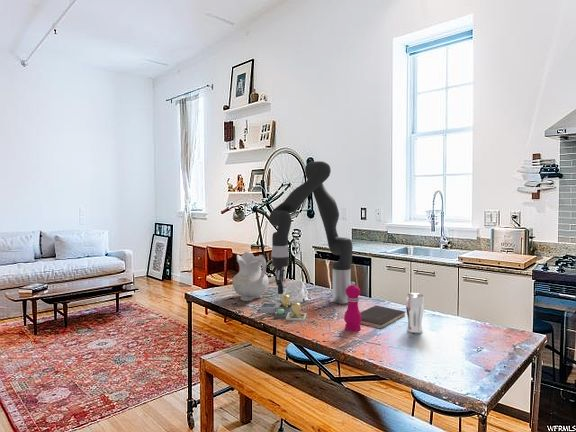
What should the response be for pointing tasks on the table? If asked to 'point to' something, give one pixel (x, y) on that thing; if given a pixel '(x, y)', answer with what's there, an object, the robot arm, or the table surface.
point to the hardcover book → (380, 316)
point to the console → (280, 315)
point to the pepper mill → (352, 308)
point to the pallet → (273, 308)
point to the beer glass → (415, 312)
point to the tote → (296, 318)
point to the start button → (280, 311)
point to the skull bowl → (297, 291)
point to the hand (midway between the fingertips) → (280, 293)
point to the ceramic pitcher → (250, 277)
